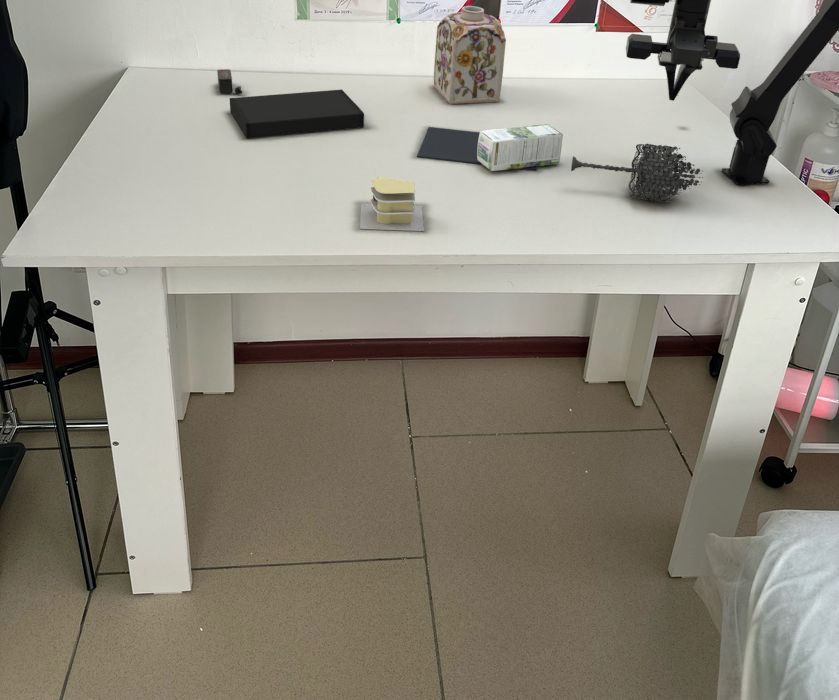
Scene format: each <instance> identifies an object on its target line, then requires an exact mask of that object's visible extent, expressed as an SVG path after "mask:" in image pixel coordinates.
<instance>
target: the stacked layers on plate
mask: <svg viewBox="0 0 839 700" xmlns="http://www.w3.org/2000/svg"><path fill="white" fill-rule="evenodd" d="M370 182H371V184H372V187H370V192H371V194H372V198H371V199H370V203H360V220H359V229H360V230H382V231H383V230H384V231H412V232H424V231H425V230H424V217H423V216H424V215H423V206H422V205H415V204H414V203H415V202H416V196H415V194H416V183H415V181H409V180H404V179H397V178H391V177H379V176H377V177H376V178H374V179H372V180H370Z"/></svg>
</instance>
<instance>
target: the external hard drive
mask: <svg viewBox="0 0 839 700" xmlns="http://www.w3.org/2000/svg"><path fill="white" fill-rule="evenodd" d="M229 112H230V114H231V116H232V118H233V120H234V121H235V122H236V125H237V126H238V127H239V129H240V130H241V132H242V134H243V136H244V137H245V139H257V138H267V137H276V136H277V137H280V136H289V135H301V134H310V133H321V132H331V131H332V132H334V131H342V130H353V129H363V128H365V112H364V111H363V110H362V109H361V108H360V107H359V106H358V105H357V104H356V103H355V102H354V100H352V98H351V97H350V96H349V95H348V94H347V93H346V92H345V91H344V89H330V90H317V91H304V92H292V93H279V94H277V93H276V94H265V95H253V96H239V97H229Z"/></svg>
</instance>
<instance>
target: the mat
mask: <svg viewBox="0 0 839 700" xmlns="http://www.w3.org/2000/svg"><path fill="white" fill-rule="evenodd" d="M479 134H480V131H469V130H461V129H451V128H443V127H433V126H428V127H427V130H426V132H425V135H424V137H423V140H422V142H421V145H420V147H419V150H418V151H417V155H416V158H421V159H429V160H438V161H447V162H457V163H465V164H474V165H482V166H484V165H483V164H482V163H481V162H479V161H478V160H477V147H478V139H479ZM516 169H519V170H528V171H535V172H536V171H537V169H538V166H533V167H524V168H516Z"/></svg>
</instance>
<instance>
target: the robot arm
mask: <svg viewBox="0 0 839 700" xmlns="http://www.w3.org/2000/svg"><path fill="white" fill-rule="evenodd" d="M671 1H673V0H629V2H630V4H636V5H646V6H647V5H648V6H655V7H657V6H658V7H665V5H666V4H669V3H670V2H671ZM711 3H712V0H674V5H673V9H672V15H671V19H670V24H669V29H668V33H667V39H666V42H659V41H653V37H652V35H650V34H649V35H648V34H638V33H631V34H630V35H628V36H627V39H626V45H625V56H626V58H628V59H634V60H647V59H648V58H649V57H651V56H652V54H653V55H654V54H655V55H657V62H658V65H659V67H664V69H665V73H666V74H665V75H666V82H667V93H668V100H669V101H672V102H673V101H675V100H676V99H677V97H678V94H679V93H680V92H681V90H682V88H683V86H684V85H685V83H686V81H687V80H688V79H689V78H690V76H691V75H692V74H693V73H694V72H696V71H701V70H702V69H703V67H704V66H703V64H702V63H703V62H704V60H714V61H715V64H716V65H717V66H718V68H724V69H732V70H736V69H738V68H739V64H740V60H741V53H740V51H739V49H738V47H737V45H736V43H730V42H720V41H719V39H718V37H719V36H718V35H710V34H706V30H705V29H706V24H707V20H708V15H709V11H710V6H711ZM838 31H839V0H822V2H821V4H820V7H819V10H818V11H817V13H816V14H815V16H814V17H813V18H812V19H811V21H809V23H808V24H807V26H806V27H805V28H804V29H803V31H802V32H801V33H800V35H799V36H798V37H797V38H796V40H795V41H794V42H793V44H792V45H791V46H790V47H789V49H788V50H787V52H786V53H785V54H784V55H783V56H782V58H781V59H780V60H779V61H778V63H777V64H776V65H775V67H774V68H773V69H772V70H771V72H770V73H769V75H768V76H767V77H766V78H765V79H764V81H763V82H762V83H761V84H759V85H758V86H757V87H755V88H754V89H751V88H749V87H748V86H744V88H743V89H742V91H741V93H740V94H739V96H738V97H737V99H736V100H734V101H733V102H731V103H730V106H731V110H730V111H729V123H730V126H731V128H732V131H733V134H734V135H735V138H736V141H735V146H734V147H733V151H732V156H731V159H730V163H729V167H726V168H725V167H724V168H721V173H722V174H723V175H725V176H726V177H727V178H728V179H730V180H731V181H732V182H733V183H734V184H736V185H737V186H749V185H750V186H751V185H768V184H770V180H769V179H768V178H766V176H765V173H766V169H767V166H768V162H769V159H770V156H772V155H773V153H774V152H775V150H776V149H777V147H778V146H777V142H776V141H775V139H774V136H773V133H772V132H771V130H770V128H771V126H772V125H773V123H774V121H775V119H776V117H777V114H778V111H779V109H780V107H781V103H782V102H783V100H784V98H785V97H786V96H787V95H788V94H789V93H790V91H791V90H792V89H793V87H794V86H795V85H796V83H797V82H798V81H799V80H800V79H801V78H802V76H803V75H804V74H805V72H806V71H807V70H808V69H809V67H810V66H811V65H812V64H813V62H814V61H815V60H817V57H818V56H819V55H820V54H821V53H822V51H823V50H824V49H825V48H826V46H827V45H828V44H829V43H830V42H831V40H832V39H833V38H834V36H836V34H837V33H838ZM677 66H679V68H678V71H677ZM676 72H677V75H676Z"/></svg>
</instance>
